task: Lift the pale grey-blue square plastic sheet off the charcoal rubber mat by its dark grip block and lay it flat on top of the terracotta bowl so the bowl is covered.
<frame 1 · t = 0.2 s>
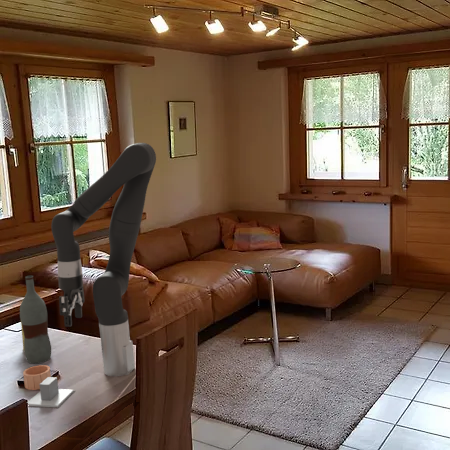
hand: (73, 321, 191), 17 cm above the table, tool pointing down, fingers open, 8 cm apart
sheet: (50, 398, 174), resting on mat
bottle: (39, 359, 207), on the table
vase: (31, 349, 217), on the table
bowl: (38, 385, 185), on the table
mat: (50, 399, 175), on the table
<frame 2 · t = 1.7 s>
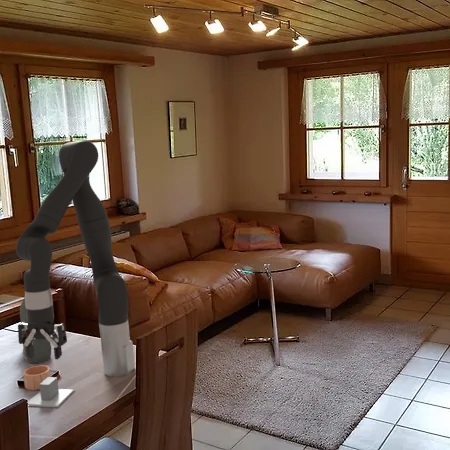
hand: (44, 357, 172), 13 cm above the table, tool pointing down, fingers open, 8 cm apart
nothing on the table moved.
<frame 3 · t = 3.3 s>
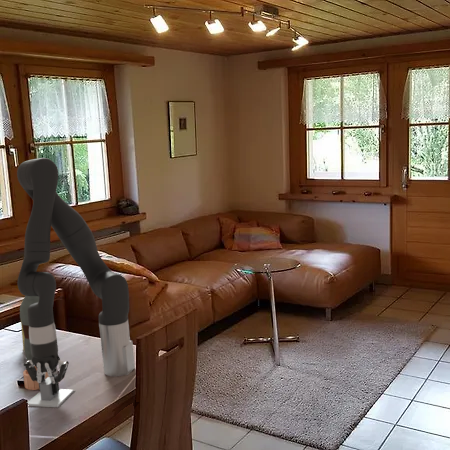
hand: (49, 393, 174), 2 cm above the table, tool pointing down, fingers closed on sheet, 3 cm apart
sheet: (50, 398, 174), resting on mat, touching gripper
everything else where it was.
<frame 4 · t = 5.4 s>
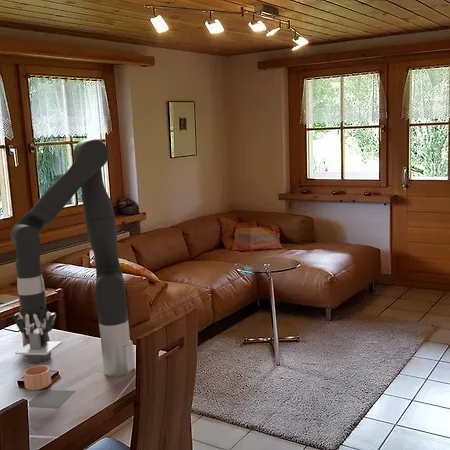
hand: (38, 345, 178), 15 cm above the table, tool pointing down, fingers closed on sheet, 3 cm apart
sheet: (39, 348, 178), point 14 cm above the table, touching gripper
everything else where it was.
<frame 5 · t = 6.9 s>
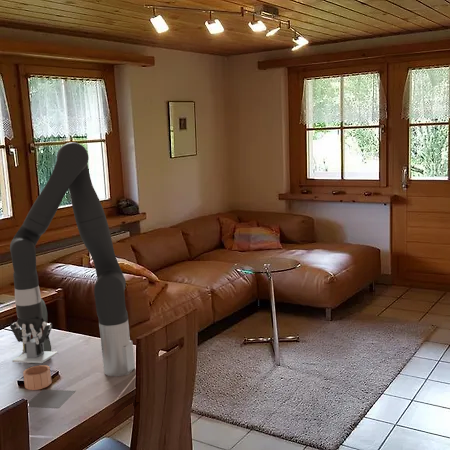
hand: (34, 354, 183), 10 cm above the table, tool pointing down, fingers closed on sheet, 3 cm apart
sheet: (35, 357, 184), point 9 cm above the table, tilted 6°, touching gripper
everything else where it was.
when the fingers open (8 cm above the table, at t = 7.7 s): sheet drops 2 cm, resting on bowl.
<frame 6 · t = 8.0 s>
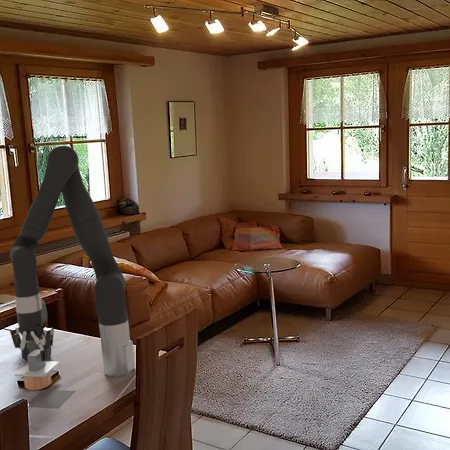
hand: (35, 360, 184), 8 cm above the table, tool pointing down, fingers open, 5 cm apart
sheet: (37, 369, 185), point 5 cm above the table, touching bowl
everything else where it was.
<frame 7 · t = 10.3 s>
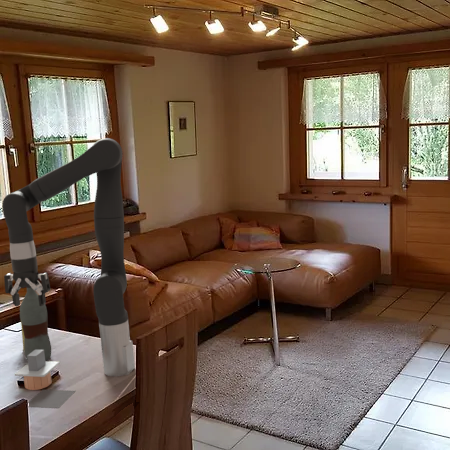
hand: (29, 305, 186), 25 cm above the table, tool pointing down, fingers open, 8 cm apart
nothing on the table moved.
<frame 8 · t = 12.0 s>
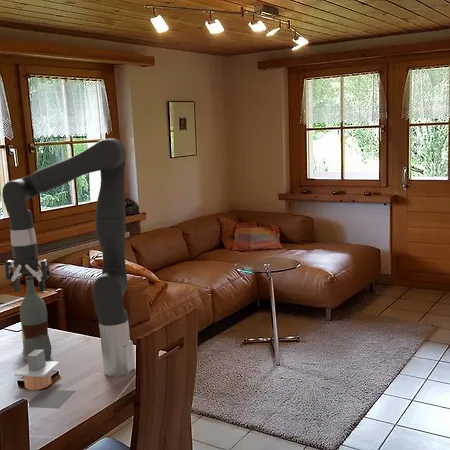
hand: (29, 291, 189), 28 cm above the table, tool pointing down, fingers open, 8 cm apart
nothing on the table moved.
at the end: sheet 0.6 cm from the bowl (horizontally); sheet point 5.0 cm above the table; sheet tilted 0° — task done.
